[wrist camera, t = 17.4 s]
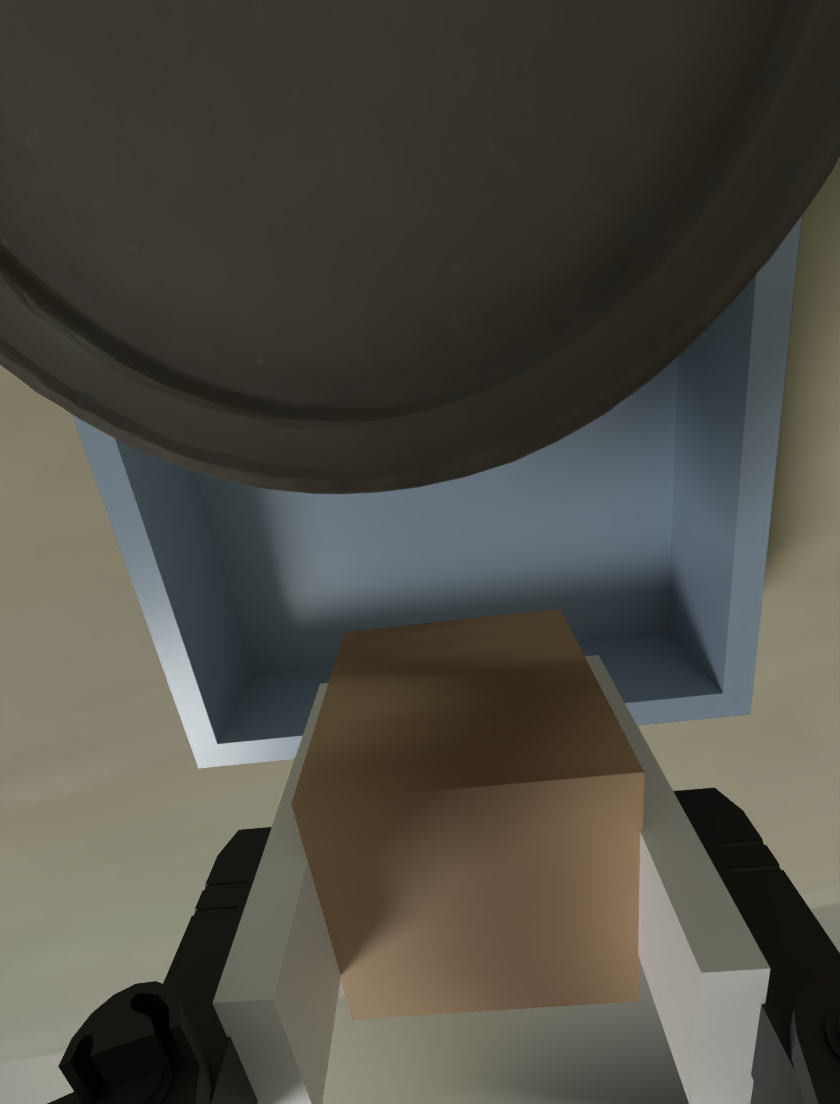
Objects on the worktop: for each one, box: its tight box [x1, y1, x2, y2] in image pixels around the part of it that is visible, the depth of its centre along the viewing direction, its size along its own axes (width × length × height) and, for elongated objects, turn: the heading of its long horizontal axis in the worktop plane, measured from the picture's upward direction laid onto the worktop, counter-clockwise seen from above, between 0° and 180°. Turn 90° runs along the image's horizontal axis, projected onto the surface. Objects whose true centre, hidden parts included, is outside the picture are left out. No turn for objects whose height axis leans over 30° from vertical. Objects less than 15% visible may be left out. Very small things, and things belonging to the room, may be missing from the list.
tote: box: [72, 216, 802, 768], centre depth 17 cm, size 20×26×5 cm
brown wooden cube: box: [291, 609, 644, 1019], centre depth 11 cm, size 5×5×5 cm
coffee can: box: [0, 0, 840, 494], centre depth 11 cm, size 10×10×14 cm
